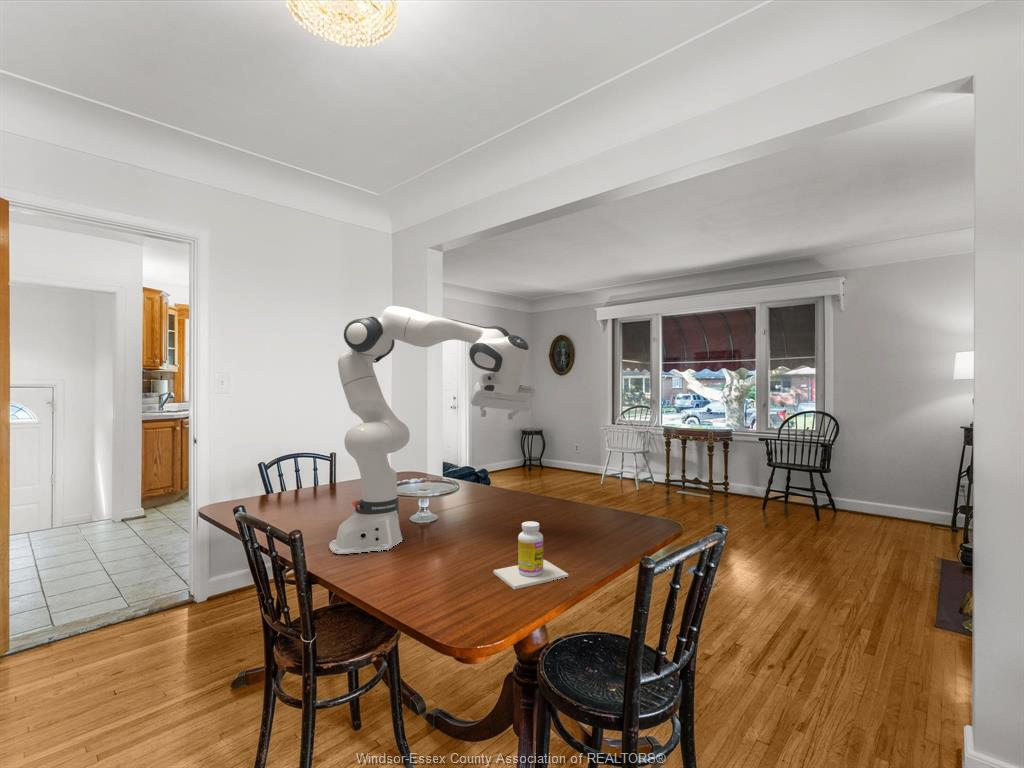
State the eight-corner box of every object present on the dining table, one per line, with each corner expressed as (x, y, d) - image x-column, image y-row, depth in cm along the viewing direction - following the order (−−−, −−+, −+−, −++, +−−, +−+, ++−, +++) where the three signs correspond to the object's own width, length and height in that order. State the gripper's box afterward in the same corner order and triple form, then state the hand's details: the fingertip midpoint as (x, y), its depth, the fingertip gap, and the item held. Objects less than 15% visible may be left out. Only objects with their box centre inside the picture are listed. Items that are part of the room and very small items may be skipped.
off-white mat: (514, 589, 121) (514, 586, 121) (493, 573, 132) (493, 570, 132) (568, 577, 128) (568, 574, 128) (544, 562, 139) (544, 559, 139)
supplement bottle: (535, 579, 125) (535, 528, 125) (513, 574, 129) (513, 525, 129) (547, 570, 131) (547, 522, 131) (526, 565, 134) (525, 518, 134)
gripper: (534, 382, 164) (524, 414, 171) (474, 374, 159) (466, 408, 166) (538, 392, 159) (527, 426, 166) (476, 385, 153) (467, 419, 160)
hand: (496, 417), depth 166 cm, fingers open, 8 cm apart
